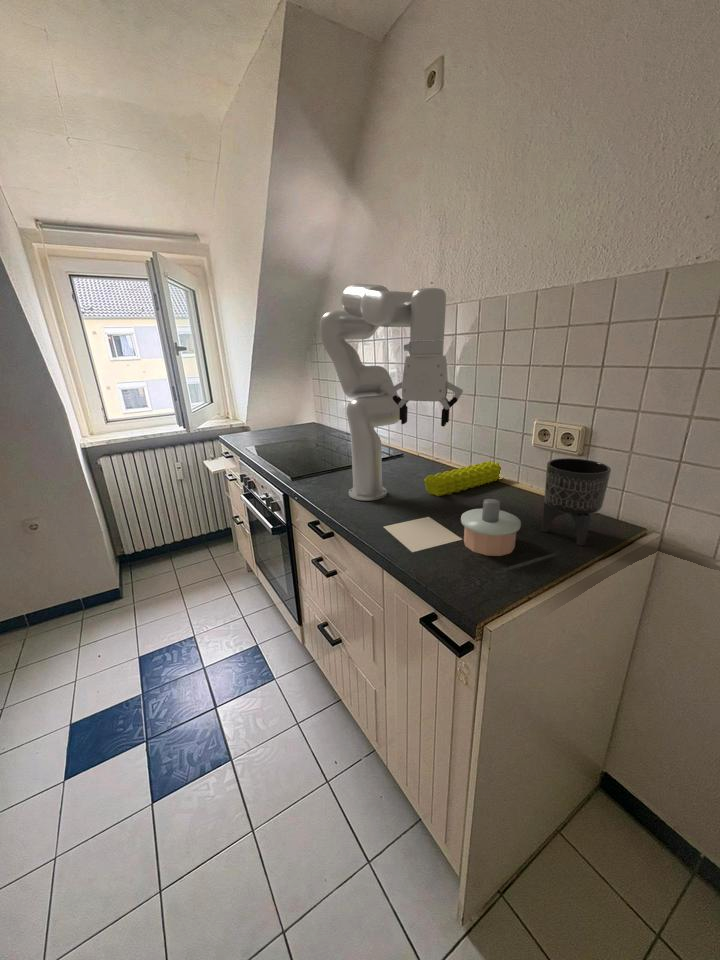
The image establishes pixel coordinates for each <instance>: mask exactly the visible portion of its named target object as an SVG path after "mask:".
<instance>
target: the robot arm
mask: <svg viewBox="0 0 720 960" xmlns="http://www.w3.org/2000/svg"><path fill="white" fill-rule="evenodd" d="M340 299H341V305H342V307H343V309H344V310H341V309H340V310H339V309H337V310H331V311H327V312H326V313H324V314H323V315H322V316H321V318H320V320H319V334H320V339H321V343H322V345H323V347H324V350H325V351H326V353H327V355H328V356H329V358H330V359H331V362H332V363H333V365H334V369H335V372H336V373H337V374H336V375H337V377H338V380H339V383H340V385H341V388H342V390H343V393H344V394H345V396H347V397H349V398H353V399H351V400H350V401H349V403H348V404H347V406H346V417H347V422H348V426H349V433H350V447H351V464H352V465H351V469H352V488H350V489H349V490H348V496H349V498H352V499H353V500H357V501H364V502H365V501H367V502H369V501H378V500H380V499H383V498H385V497H386V496H387V494H388V490H387V488H385V487H384V486H383V476H382V475H383V469H382V468H383V462H382V461H383V459H382V458H383V457H382V452H383V451H382V441H381V437H380V435H378V433H377V431H376V430H375V428H377V427H384V426H385V427H386V426H390V425H395V424H397V423H398V422H399V421H400V423H401V425H405V424H407V422H408V406H407V404H408V402H411V401H412V402H439V403H440V405H441V406H442V407H443V408H442V409H441V417H440V418H441V419H440V420H441V422H440V426H441V427H445V426H446V425H447V423H449V421H450V409H451V408H452V407H453V406H454V405H455V404H456V403H458V401H459V399H460V397H461V395H462V394H463V392H464V389H462V388H460V387H459V386H457V385H455V384H454V383H451V382H450V381H449V379H448V363H447V356H446V355H444V346H445V345H444V342H445V328H446V327H445V326H446V325H445V324H446V309H447V307H446V306H447V294H446V291H445V290H444V289H442V288H438V287H425V288H418V289H415V290H414V291H411V292H410V291H392V290H391V291H389V289H388V288H387V287H386V286H384V285H382V284H367V283H354V284H350V285H349V286H347V287H346V288H345V289H344V290H343V291H342V294H341V298H340ZM379 327H381V328H409V331H410V333H409V342H408V343H407V344H404V345H403V351H404V352H406V351H407V352H408V354H409V355H407V356H405V359H404V366H403V371H402V372H403V373H402V381H401V382H399V383H397V384H395V385H394V383H393V380H392V377H391V375H390V373H389V372H388V370H387V369H386V368H385V367H383V366H381V365H365V364H363V362H362V361H361V358H360V355H359V353H358V351H357V350H356V348H354V347H353V346H352V344H350V343H348V342H347V341H346V340H367V339H370V338H371V337H373V335H374V334H375V333H376V331H377V330H378V329H379ZM400 389H401V396H400V395H399V394H398V390H400ZM448 390H449V391H451V392H453V393H454V395H453V397H452V398H451V399H450V400H449V399H448V398H447V396H448ZM401 397H402V398H401Z"/></svg>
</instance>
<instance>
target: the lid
mask: <svg viewBox="0 0 720 960" xmlns="http://www.w3.org/2000/svg"><path fill="white" fill-rule="evenodd" d="M482 501H483V503H482V508H474V509H473V508H472V509H469V510H467V511H465V512H463V513H462V514H461V517H460V523H461V524H462V526H464V528H465V527H466V528H467V529H469V530H471V531H474V532H477V533H481V534H486V535H496V536H498V535H509V534H513V533H515V532H516V533H517V532H518V531H520V529H521V525H522V522H521V519H519V517H518V516H516V515H514V514H512V513H511V512H509V511H508V512H507V511H505V510H501V509H500V508H501V501H500V500H498V499H495V498H485V499H484V500H482Z"/></svg>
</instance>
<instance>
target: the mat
mask: <svg viewBox="0 0 720 960" xmlns="http://www.w3.org/2000/svg"><path fill="white" fill-rule="evenodd" d="M383 528H384V529H385V530H386V531H387V532H388V533H389V534H391V536H393V538H395V539H396V540H397V541H399V542H400V543H401V544H402V545H403V546H404V547H405V548H407V550H409V551H410V552H411V553H415V552H420V551H424V550H427V549H431V548H435V547H439V546H444V545H447V544H451V543H454V542H459V541H462V540H463V541H464V538H462V537H460V536H458V535H457V534H455V533H454V532H452V531H451V530H449V529H448V528H446V527H445V526H443V524H440V523H438V522H437V521H436V520H434V519H433V518H431V517H430V516H426V517H421V518H417V519H412V520H406V521H403V522H397V523H394V524H390V525H386V526H383Z"/></svg>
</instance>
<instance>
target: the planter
mask: <svg viewBox="0 0 720 960" xmlns="http://www.w3.org/2000/svg"><path fill="white" fill-rule="evenodd" d="M611 471H612V468H611V467H610V466H609V465H607V464H605V463H602V462H599V461H595V460H591V459H584V458H583V459H582V458H571V457H569V458H567V457H565V458H564V457H563V458H555V459H551V460H548V462H547V463H546V475H545V488H544V502H543V514H542V525H541V532H542V533H548V530H549V527H550V525H551V523H552V521H554V520H555V519H556V518H557V517H559V516H563V515H565V514H567V515H570V516H571V517H572V519H573V521H574V530H576V542H575V543H576V545H578V546H585V545H586V541H587V537H588V530H589V526H590V521H591V516H592V515H591V514H596V513H598V512H600V511H601V509H602V508H603V506H604V501H605V498H606V497H605V496H606V493H607V488H608V485H609V480H610V476H611Z"/></svg>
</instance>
